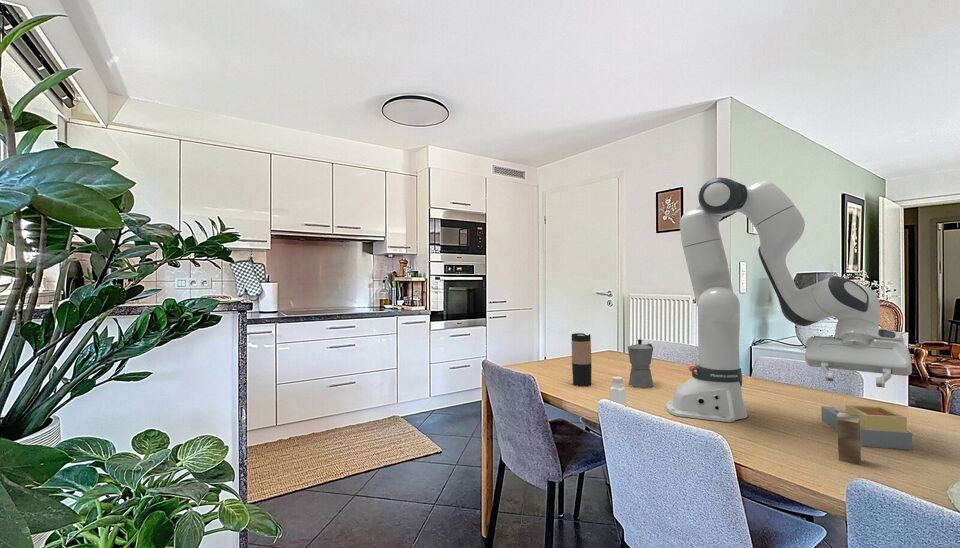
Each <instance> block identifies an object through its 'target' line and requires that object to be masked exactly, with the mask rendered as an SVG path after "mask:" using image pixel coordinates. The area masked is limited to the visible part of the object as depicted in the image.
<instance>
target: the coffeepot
mask: <svg viewBox="0 0 960 548" xmlns="http://www.w3.org/2000/svg"><path fill="white" fill-rule="evenodd" d="M642 342H643V340H642V339H641V338H640V339H637V344H631V345H628V346H627V350H628V357H629V362H630V364H631V369H630V375H629V381H628V385H629V386H630V385H632V386H634V387H633V388H637V387H642V388H641V389H649V388H648V387H650V388H653V387H654V382H653V381H654V380H653V376H652V370H651V368H650V366H651V363H652V358H653V351H654V347H653V345H652V344H651V343H646V344H645V343H644V344H642ZM632 386H631V387H632ZM652 386H653V387H652Z"/></svg>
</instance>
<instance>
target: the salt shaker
mask: <svg viewBox="0 0 960 548" xmlns="http://www.w3.org/2000/svg"><path fill="white" fill-rule="evenodd" d="M623 381H624V378H623V377H622V376H613V377H612V386H611V387H610V389H609V390H610V391H609V393H610V402H611V401H613V402H616V403H619V404H622V405H625V407H626V404H627V403H626V402H627V401H626V396H627V395H626V387H625V386H623V384H624V382H623Z"/></svg>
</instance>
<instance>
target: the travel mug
mask: <svg viewBox="0 0 960 548" xmlns="http://www.w3.org/2000/svg"><path fill="white" fill-rule="evenodd" d="M591 341H592V338H591V334H586V333H583V332H576V333H571V370H572V371H571V372H572V384H573V386H576V385H578V386H577V387H590V386H592V342H591ZM589 385H590V386H589Z"/></svg>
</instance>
